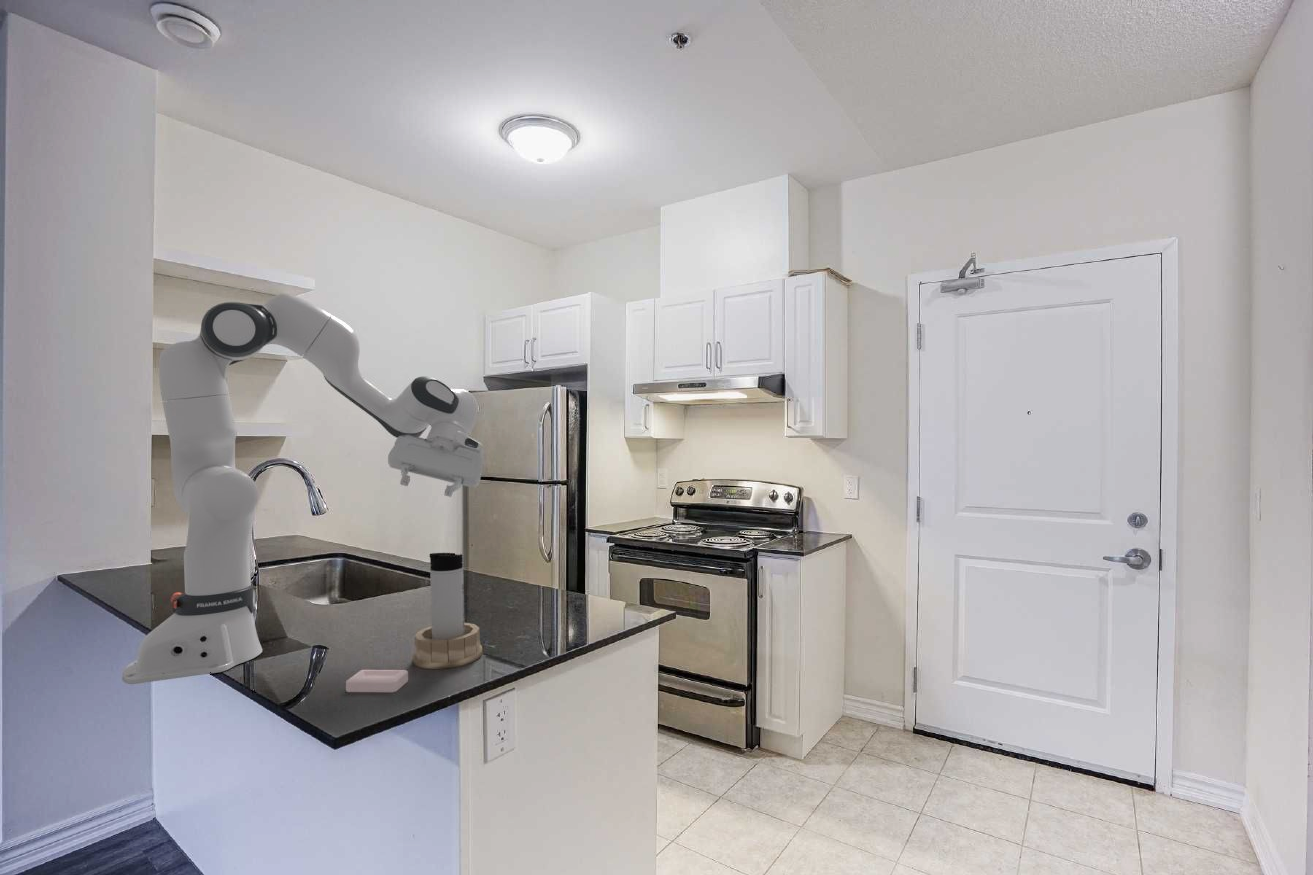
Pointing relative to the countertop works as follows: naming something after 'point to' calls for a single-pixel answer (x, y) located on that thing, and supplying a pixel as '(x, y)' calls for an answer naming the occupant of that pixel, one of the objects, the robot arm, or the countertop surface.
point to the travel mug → (447, 595)
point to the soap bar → (377, 681)
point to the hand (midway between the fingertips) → (425, 489)
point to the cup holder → (447, 649)
